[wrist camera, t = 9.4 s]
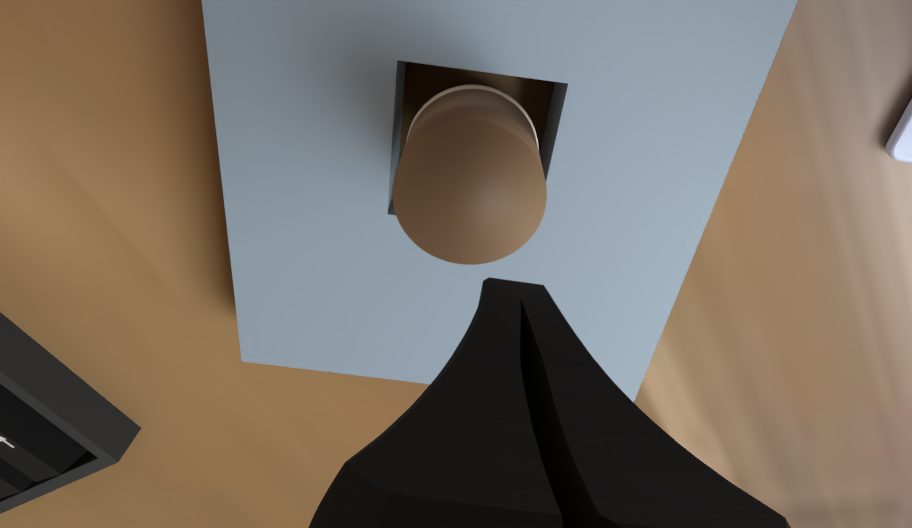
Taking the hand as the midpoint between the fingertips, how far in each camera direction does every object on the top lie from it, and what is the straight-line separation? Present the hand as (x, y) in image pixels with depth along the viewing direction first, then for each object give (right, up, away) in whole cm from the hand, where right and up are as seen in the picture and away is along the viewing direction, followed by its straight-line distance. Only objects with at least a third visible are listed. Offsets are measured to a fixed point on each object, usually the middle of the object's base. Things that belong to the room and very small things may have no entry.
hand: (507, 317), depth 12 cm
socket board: (-1, +6, +7) cm, 9 cm away
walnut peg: (-1, +6, +7) cm, 9 cm away
